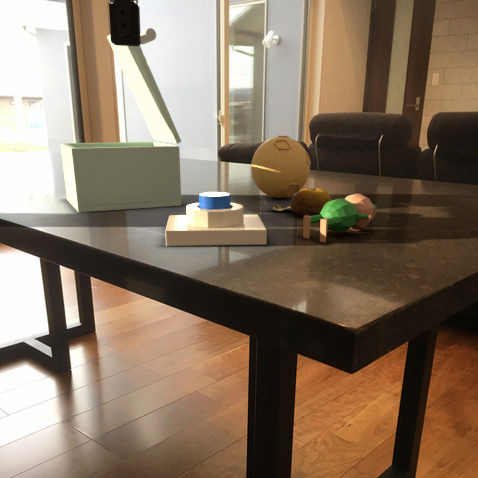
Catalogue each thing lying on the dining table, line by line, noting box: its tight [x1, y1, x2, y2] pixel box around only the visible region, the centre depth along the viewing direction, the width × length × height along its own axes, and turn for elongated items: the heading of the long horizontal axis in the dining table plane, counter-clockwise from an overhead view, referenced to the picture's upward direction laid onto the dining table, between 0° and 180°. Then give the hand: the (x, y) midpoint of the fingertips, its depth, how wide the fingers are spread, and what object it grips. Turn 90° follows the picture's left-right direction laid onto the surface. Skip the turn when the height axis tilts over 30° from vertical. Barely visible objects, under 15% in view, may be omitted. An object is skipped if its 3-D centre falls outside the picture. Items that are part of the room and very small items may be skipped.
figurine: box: [302, 193, 378, 244], centre depth 62 cm, size 4×7×12 cm
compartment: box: [60, 141, 182, 213], centre depth 81 cm, size 16×13×9 cm
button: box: [198, 191, 231, 210], centre depth 59 cm, size 4×4×2 cm
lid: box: [106, 27, 182, 145], centre depth 79 cm, size 16×13×5 cm
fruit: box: [272, 187, 332, 218], centre depth 74 cm, size 8×8×4 cm
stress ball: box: [250, 135, 312, 199], centre depth 87 cm, size 10×10×10 cm
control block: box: [164, 202, 268, 247], centre depth 60 cm, size 11×9×4 cm
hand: (126, 44), depth 60 cm, fingers closed
